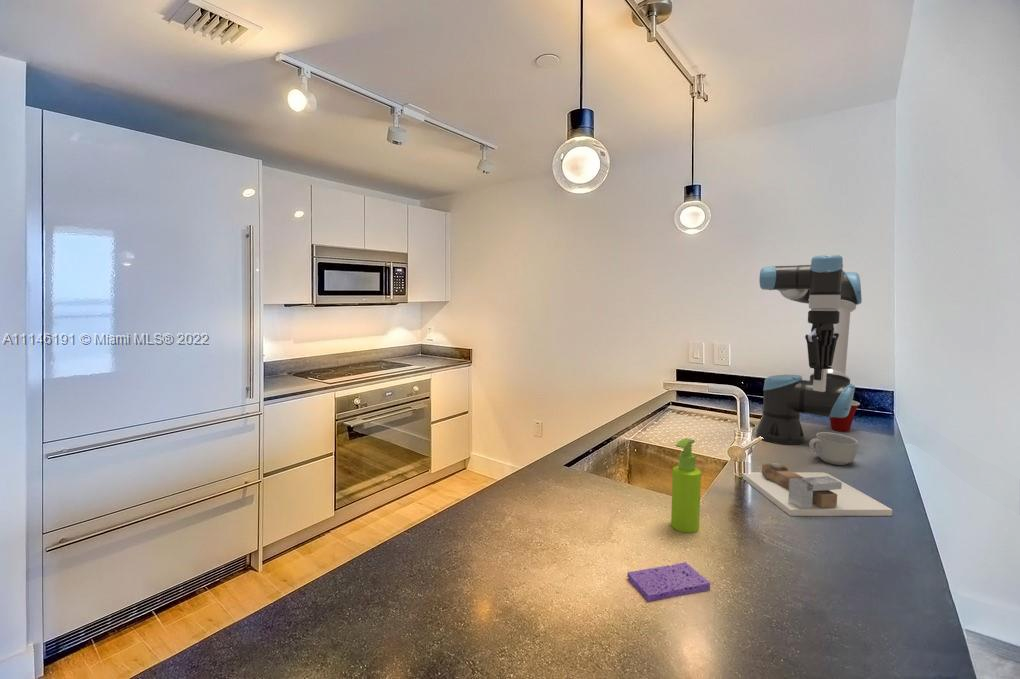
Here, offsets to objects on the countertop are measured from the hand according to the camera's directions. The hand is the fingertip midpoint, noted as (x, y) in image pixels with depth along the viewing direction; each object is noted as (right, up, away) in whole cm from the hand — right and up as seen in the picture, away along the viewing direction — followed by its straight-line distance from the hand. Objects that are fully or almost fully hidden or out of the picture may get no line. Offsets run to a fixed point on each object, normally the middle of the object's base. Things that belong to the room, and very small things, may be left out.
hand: (819, 390), depth 136 cm
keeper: (-17, -26, -23) cm, 39 cm away
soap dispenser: (-51, -27, -31) cm, 66 cm away
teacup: (+10, -24, +10) cm, 28 cm away
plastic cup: (+38, -20, +45) cm, 62 cm away
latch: (-16, -24, -15) cm, 33 cm away
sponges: (-62, -30, -52) cm, 86 cm away
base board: (-12, -26, -14) cm, 32 cm away
